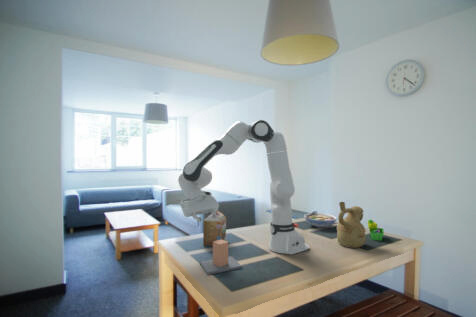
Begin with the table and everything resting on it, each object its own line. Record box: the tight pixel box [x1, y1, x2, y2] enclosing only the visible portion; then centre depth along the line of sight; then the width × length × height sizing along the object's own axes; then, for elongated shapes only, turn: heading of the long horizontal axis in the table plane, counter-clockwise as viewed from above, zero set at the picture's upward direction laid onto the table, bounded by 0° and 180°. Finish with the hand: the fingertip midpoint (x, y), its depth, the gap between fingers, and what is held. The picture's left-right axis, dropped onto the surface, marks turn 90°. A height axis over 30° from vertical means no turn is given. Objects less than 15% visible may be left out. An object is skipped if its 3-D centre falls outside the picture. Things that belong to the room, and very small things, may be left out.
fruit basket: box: [366, 219, 385, 242], centre depth 154 cm, size 11×9×11 cm
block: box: [212, 239, 229, 267], centre depth 114 cm, size 5×5×10 cm
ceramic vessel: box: [336, 201, 367, 249], centre depth 143 cm, size 17×20×25 cm
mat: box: [199, 255, 243, 276], centre depth 114 cm, size 16×12×1 cm
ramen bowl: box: [303, 210, 338, 229], centre depth 180 cm, size 25×23×8 cm
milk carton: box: [202, 208, 227, 247], centre depth 145 cm, size 11×11×19 cm
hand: (207, 219), depth 123 cm, fingers open, 8 cm apart
